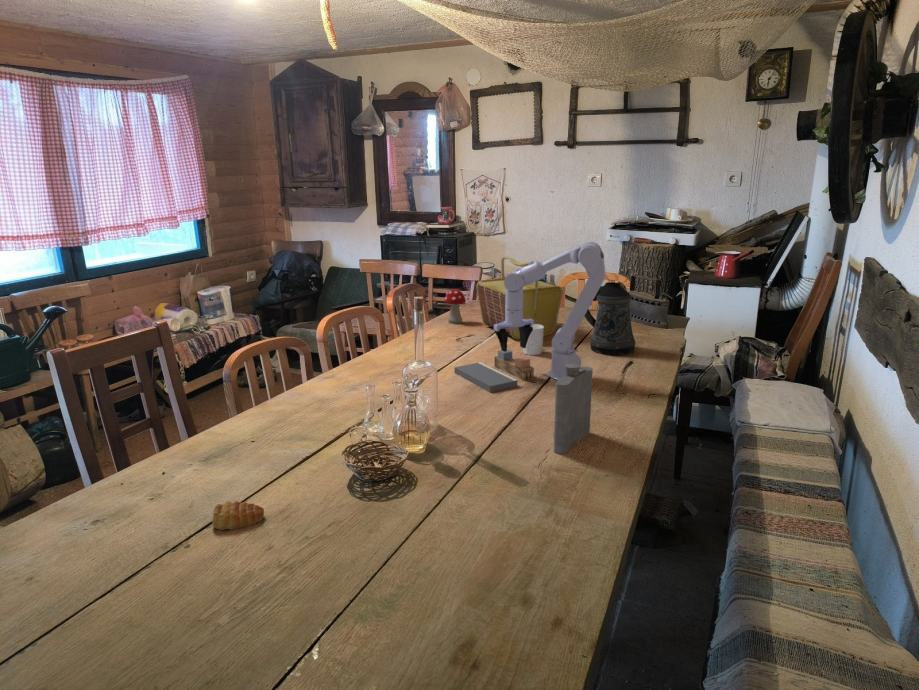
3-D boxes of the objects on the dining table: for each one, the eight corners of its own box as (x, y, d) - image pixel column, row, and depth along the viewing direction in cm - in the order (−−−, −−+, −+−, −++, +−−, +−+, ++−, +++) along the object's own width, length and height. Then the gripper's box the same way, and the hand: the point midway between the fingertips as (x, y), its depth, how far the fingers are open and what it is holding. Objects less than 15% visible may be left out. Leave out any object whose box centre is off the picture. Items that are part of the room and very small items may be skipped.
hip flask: (563, 455, 145) (566, 375, 140) (548, 451, 148) (550, 372, 142) (591, 432, 158) (595, 358, 152) (577, 429, 160) (580, 355, 155)
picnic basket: (475, 326, 265) (474, 257, 257) (526, 320, 276) (527, 253, 267) (508, 343, 240) (508, 266, 232) (563, 335, 250) (566, 261, 242)
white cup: (542, 349, 230) (543, 324, 227) (543, 356, 223) (544, 329, 220) (521, 349, 231) (522, 323, 228) (521, 355, 223) (522, 329, 221)
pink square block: (529, 366, 199) (530, 359, 199) (521, 368, 198) (521, 360, 197) (523, 363, 202) (523, 356, 202) (514, 365, 201) (515, 358, 200)
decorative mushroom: (469, 321, 274) (469, 288, 270) (459, 325, 267) (459, 292, 263) (451, 319, 279) (450, 286, 275) (440, 323, 272) (439, 289, 268)
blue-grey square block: (512, 358, 208) (512, 351, 207) (503, 360, 206) (503, 353, 205) (506, 356, 211) (506, 349, 210) (497, 357, 209) (497, 350, 208)
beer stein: (639, 355, 221) (644, 287, 214) (585, 356, 222) (588, 288, 215) (628, 343, 237) (632, 279, 230) (578, 343, 237) (580, 279, 231)
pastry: (265, 509, 124) (264, 492, 123) (262, 528, 118) (260, 510, 117) (217, 515, 123) (214, 498, 121) (211, 534, 116) (208, 516, 115)
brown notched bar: (533, 379, 199) (533, 367, 198) (523, 381, 197) (523, 369, 196) (504, 365, 213) (504, 354, 212) (494, 367, 211) (494, 356, 210)
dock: (517, 386, 192) (517, 380, 191) (490, 392, 187) (490, 385, 186) (479, 367, 210) (479, 362, 210) (454, 372, 205) (454, 366, 205)
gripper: (525, 304, 206) (524, 343, 210) (488, 309, 199) (488, 349, 203) (537, 308, 200) (536, 348, 204) (500, 313, 193) (500, 354, 197)
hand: (513, 349), depth 203 cm, fingers open, 7 cm apart
